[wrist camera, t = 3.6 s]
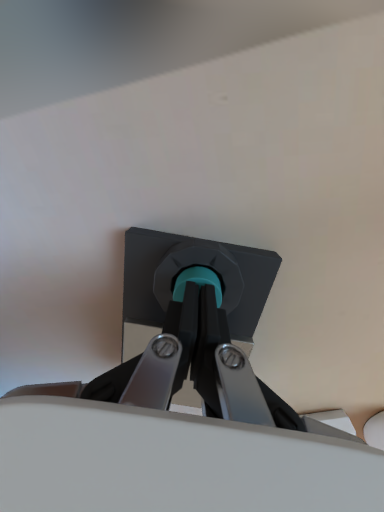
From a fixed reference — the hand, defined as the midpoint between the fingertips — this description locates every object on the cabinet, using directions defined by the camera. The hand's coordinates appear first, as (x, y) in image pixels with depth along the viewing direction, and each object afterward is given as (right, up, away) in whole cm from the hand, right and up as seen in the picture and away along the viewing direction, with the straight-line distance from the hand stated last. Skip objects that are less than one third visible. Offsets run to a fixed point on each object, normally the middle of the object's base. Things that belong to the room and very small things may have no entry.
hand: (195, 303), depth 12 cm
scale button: (0, +1, +2) cm, 2 cm away
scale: (0, -2, +6) cm, 6 cm away
